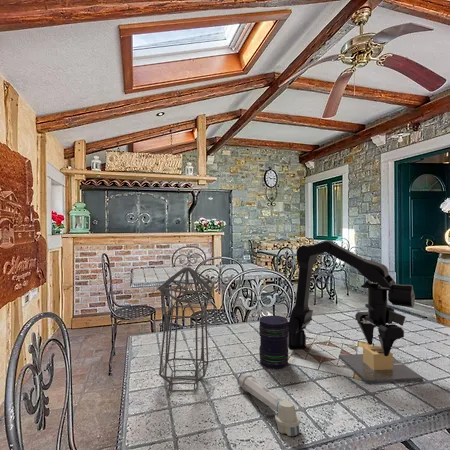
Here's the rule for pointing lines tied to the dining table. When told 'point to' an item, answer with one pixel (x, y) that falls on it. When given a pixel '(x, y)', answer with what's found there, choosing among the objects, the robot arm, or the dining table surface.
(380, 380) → the hub plate
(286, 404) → the toothbrush head
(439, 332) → the dining table surface
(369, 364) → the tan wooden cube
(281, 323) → the dark purple barrel
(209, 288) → the geometric lantern
